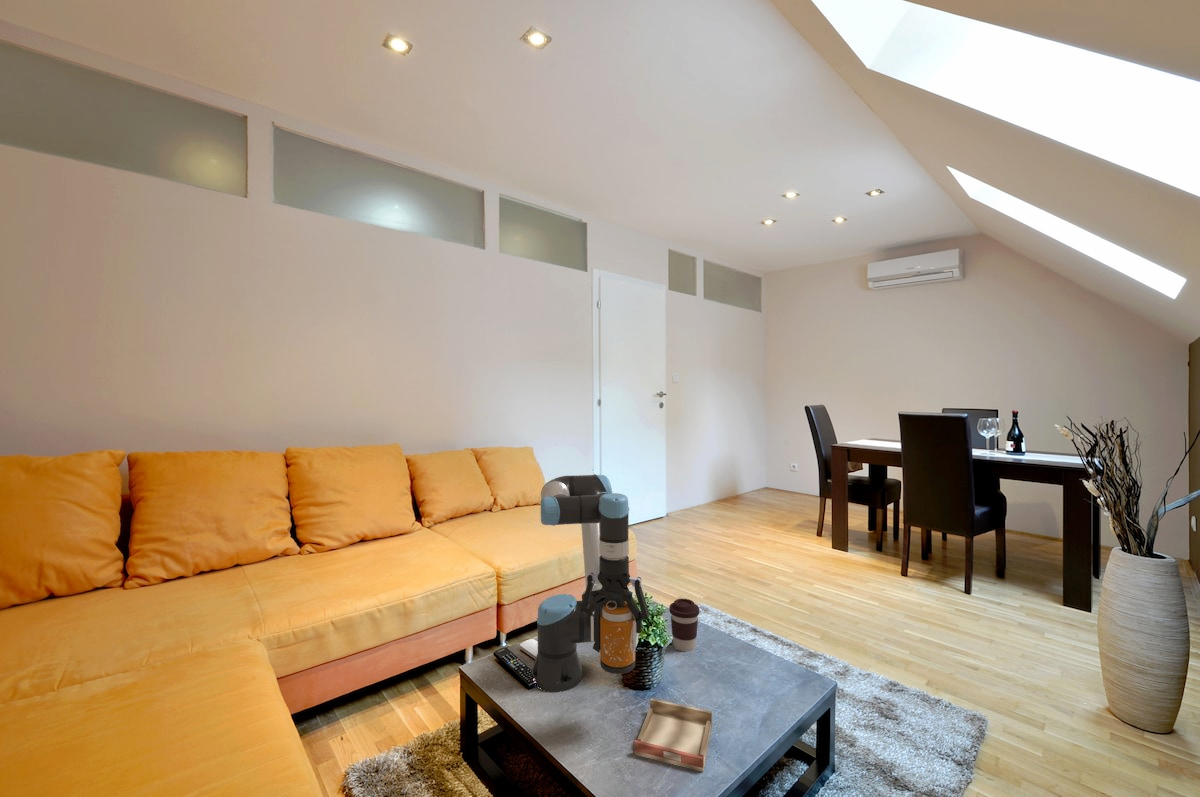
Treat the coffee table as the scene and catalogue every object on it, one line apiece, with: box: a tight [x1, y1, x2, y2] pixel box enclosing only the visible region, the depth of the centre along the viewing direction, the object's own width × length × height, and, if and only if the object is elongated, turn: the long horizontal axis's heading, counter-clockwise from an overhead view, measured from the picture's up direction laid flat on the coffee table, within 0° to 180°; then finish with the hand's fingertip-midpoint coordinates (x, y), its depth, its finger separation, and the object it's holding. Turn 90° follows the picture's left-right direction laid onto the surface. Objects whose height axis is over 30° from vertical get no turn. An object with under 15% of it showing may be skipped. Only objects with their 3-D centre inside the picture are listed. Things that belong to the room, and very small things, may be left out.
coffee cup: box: [668, 598, 700, 653], centre depth 162 cm, size 10×10×15 cm
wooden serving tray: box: [633, 698, 713, 773], centre depth 118 cm, size 16×16×4 cm
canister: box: [592, 589, 636, 675], centre depth 123 cm, size 9×11×20 cm
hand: (614, 641), depth 123 cm, fingers closed on canister, 10 cm apart
